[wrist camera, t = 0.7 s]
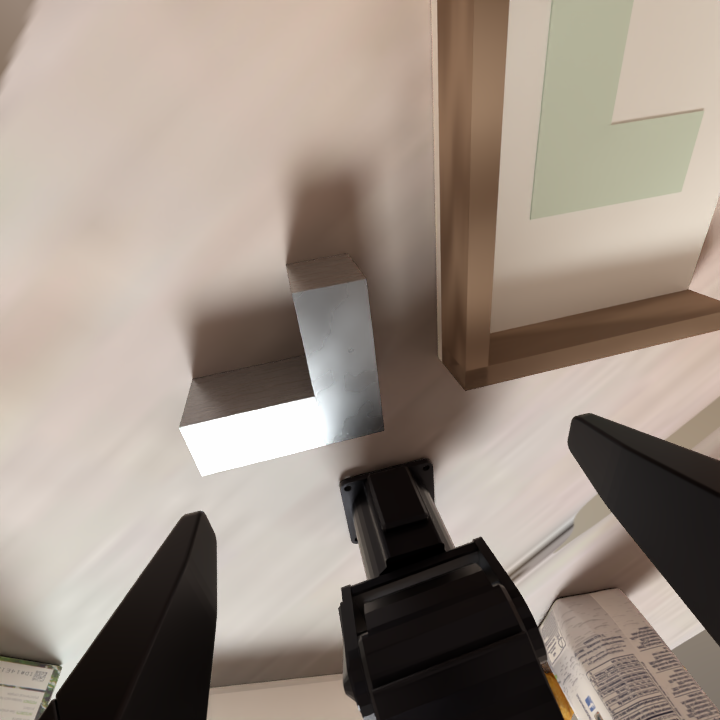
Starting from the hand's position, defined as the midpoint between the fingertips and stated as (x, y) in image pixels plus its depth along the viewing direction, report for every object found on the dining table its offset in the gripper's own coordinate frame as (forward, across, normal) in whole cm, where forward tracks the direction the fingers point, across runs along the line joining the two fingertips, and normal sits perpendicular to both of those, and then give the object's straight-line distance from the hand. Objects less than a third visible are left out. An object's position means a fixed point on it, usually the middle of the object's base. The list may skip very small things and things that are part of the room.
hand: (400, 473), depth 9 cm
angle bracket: (+12, +3, +2) cm, 13 cm away
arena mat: (+12, -14, -4) cm, 19 cm away
